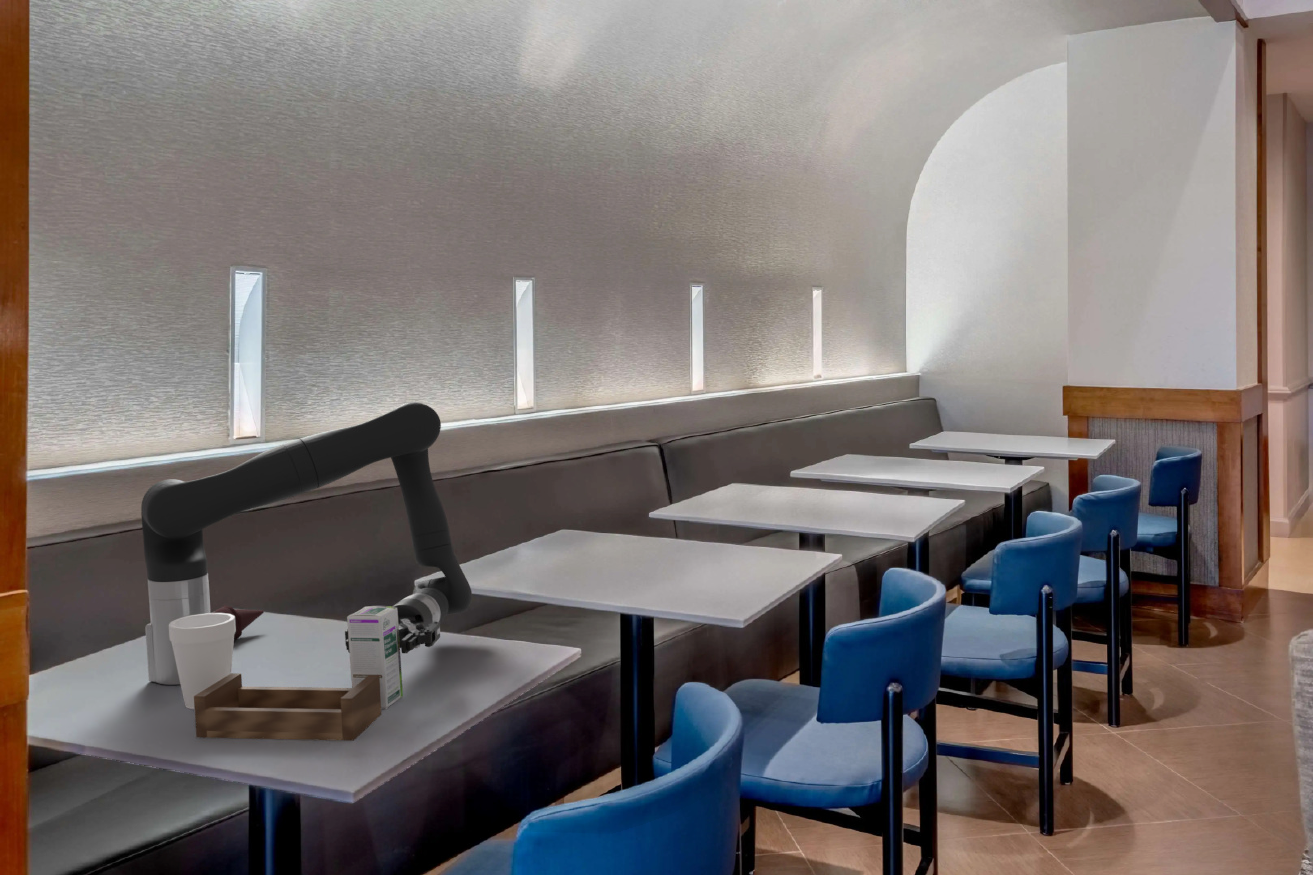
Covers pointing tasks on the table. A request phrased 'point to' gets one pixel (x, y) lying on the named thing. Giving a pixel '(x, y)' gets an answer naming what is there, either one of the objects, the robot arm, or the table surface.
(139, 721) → the table surface
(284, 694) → the wooden crate tray
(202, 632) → the foam cup
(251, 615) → the icecream
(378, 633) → the syrup box
